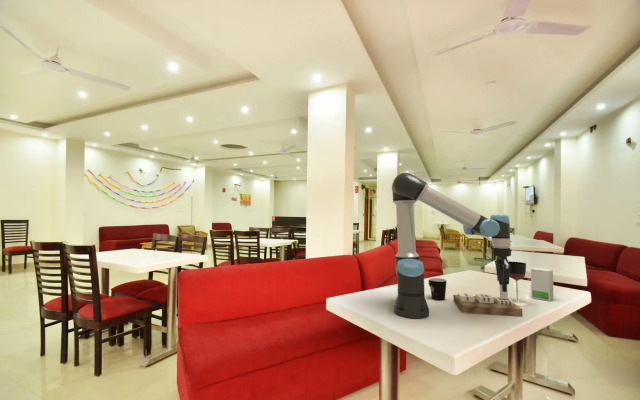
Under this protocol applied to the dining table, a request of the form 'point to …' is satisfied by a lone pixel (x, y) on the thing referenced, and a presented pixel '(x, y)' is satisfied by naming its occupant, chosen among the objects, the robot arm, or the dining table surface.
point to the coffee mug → (437, 288)
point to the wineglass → (517, 276)
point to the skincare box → (542, 284)
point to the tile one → (466, 297)
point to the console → (487, 308)
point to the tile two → (484, 298)
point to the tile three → (503, 301)
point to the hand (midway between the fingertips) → (504, 298)
